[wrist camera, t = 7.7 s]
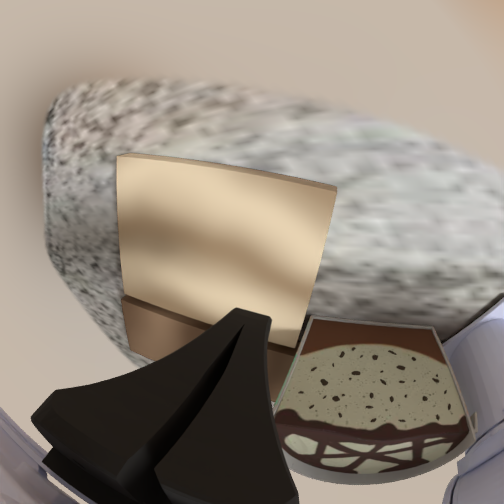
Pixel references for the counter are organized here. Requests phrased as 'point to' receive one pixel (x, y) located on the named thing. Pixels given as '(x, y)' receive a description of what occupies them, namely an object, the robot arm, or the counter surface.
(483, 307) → the counter surface
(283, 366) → the walnut board
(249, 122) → the counter surface
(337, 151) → the counter surface
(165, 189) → the oak plank
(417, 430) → the food container
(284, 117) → the counter surface
